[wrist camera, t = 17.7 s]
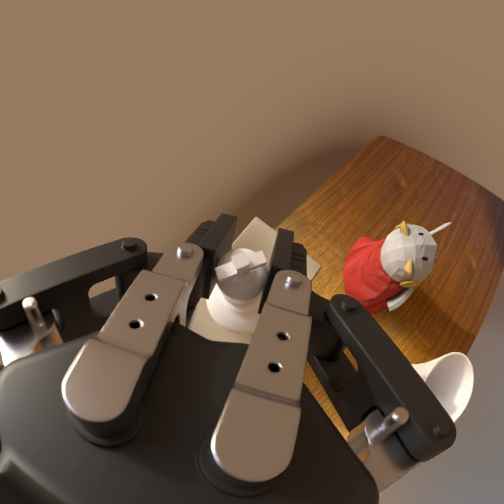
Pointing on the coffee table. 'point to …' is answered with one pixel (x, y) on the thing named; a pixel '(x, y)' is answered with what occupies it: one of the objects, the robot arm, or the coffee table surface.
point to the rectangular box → (264, 239)
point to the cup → (449, 381)
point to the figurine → (390, 266)
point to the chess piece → (238, 290)
